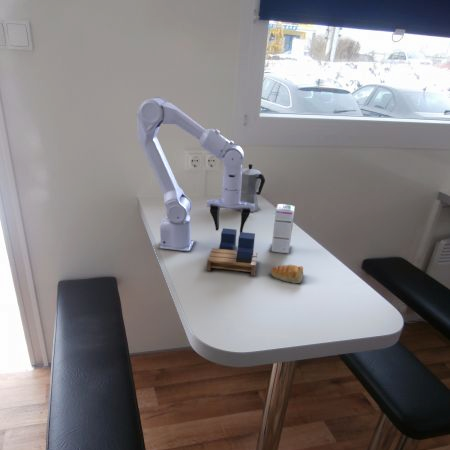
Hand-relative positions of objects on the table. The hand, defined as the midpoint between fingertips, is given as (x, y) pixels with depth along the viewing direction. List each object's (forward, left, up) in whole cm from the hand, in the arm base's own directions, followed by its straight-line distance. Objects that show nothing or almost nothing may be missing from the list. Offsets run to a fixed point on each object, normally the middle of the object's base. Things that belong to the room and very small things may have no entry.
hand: (229, 230), depth 129 cm
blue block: (0, -1, -7) cm, 7 cm away
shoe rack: (+3, -12, -7) cm, 14 cm away
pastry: (+20, -15, -7) cm, 26 cm away
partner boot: (+6, -12, -3) cm, 14 cm away
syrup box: (+17, +5, -7) cm, 19 cm away
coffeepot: (+3, +43, -7) cm, 44 cm away
